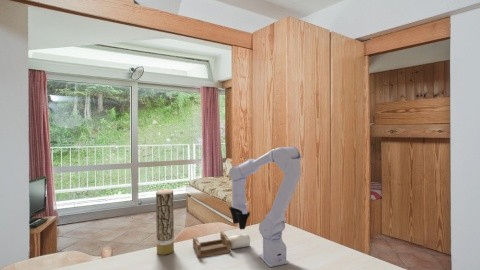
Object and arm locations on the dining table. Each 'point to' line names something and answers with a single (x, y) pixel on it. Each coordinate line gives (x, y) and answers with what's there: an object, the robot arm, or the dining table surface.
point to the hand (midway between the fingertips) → (239, 226)
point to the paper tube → (164, 221)
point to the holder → (211, 246)
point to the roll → (239, 241)
